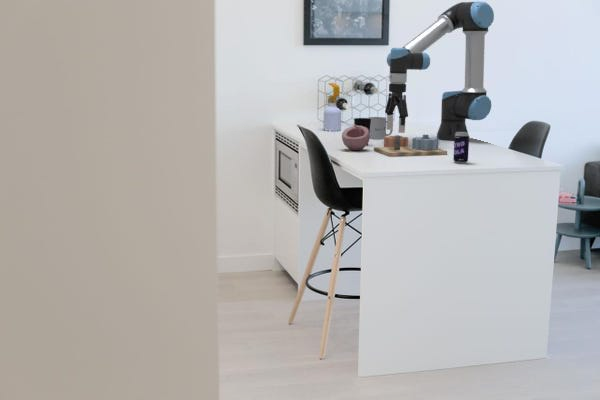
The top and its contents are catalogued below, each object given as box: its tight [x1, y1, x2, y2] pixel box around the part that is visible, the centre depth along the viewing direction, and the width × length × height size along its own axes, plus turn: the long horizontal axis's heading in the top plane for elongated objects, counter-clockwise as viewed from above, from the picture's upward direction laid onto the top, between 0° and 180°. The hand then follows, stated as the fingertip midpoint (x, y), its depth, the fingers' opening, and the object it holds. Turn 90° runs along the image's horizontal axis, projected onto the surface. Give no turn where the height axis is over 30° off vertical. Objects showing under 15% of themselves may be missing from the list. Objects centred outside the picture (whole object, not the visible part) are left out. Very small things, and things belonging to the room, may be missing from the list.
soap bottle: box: [323, 82, 342, 132], centre depth 443 cm, size 9×9×25 cm
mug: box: [368, 116, 394, 141], centre depth 412 cm, size 12×9×10 cm
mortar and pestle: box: [341, 124, 371, 151], centre depth 368 cm, size 12×12×11 cm
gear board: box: [373, 134, 448, 158], centre depth 362 cm, size 26×18×8 cm
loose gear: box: [383, 135, 409, 147], centre depth 379 cm, size 11×11×4 cm
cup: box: [353, 117, 371, 147], centre depth 386 cm, size 8×8×12 cm
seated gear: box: [411, 136, 440, 151], centre depth 364 cm, size 11×11×4 cm
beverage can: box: [452, 132, 470, 164], centre depth 335 cm, size 6×6×12 cm
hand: (395, 131), depth 378 cm, fingers open, 13 cm apart
